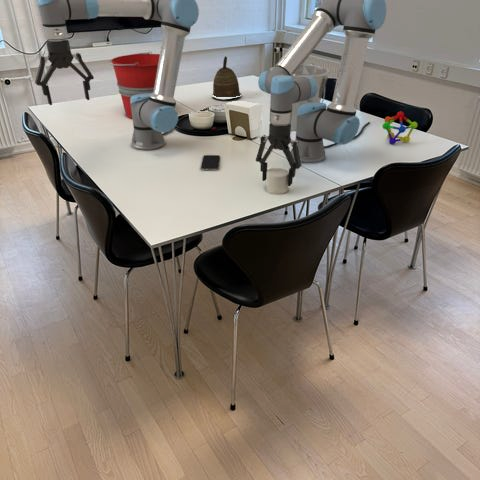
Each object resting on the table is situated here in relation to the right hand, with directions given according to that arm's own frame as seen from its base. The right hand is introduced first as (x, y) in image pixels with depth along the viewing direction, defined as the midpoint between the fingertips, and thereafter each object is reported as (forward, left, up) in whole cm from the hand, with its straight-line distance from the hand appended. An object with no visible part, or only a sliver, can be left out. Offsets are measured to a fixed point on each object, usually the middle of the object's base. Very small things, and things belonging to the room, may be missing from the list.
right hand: (277, 182), depth 165 cm
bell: (-59, -124, -3) cm, 137 cm away
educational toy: (-79, -8, -3) cm, 79 cm away
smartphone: (+7, -36, -3) cm, 36 cm away
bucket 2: (-57, -55, -3) cm, 80 cm away
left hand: (+55, -57, +25) cm, 83 cm away
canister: (0, 0, -3) cm, 3 cm away
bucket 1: (-2, -118, -3) cm, 118 cm away
